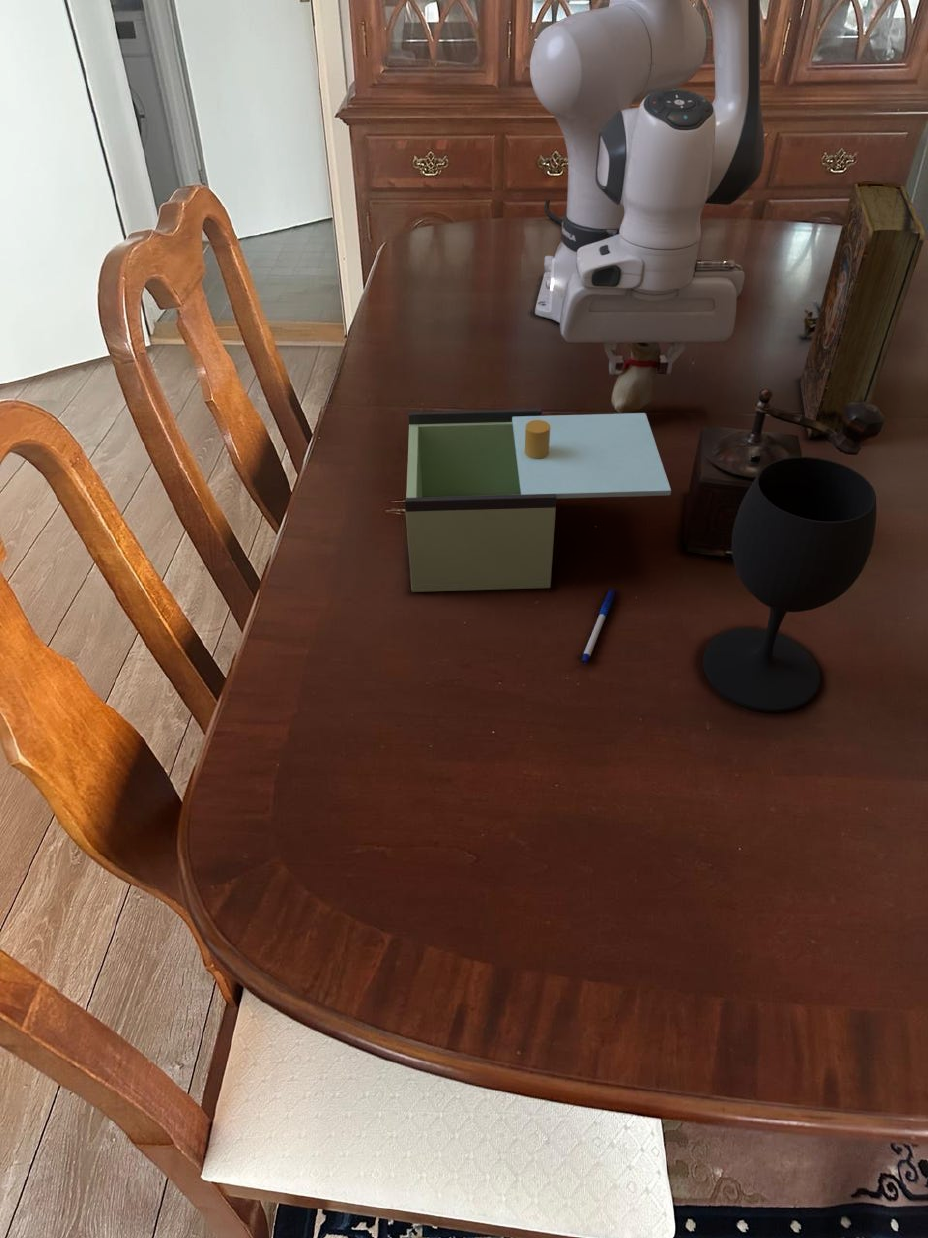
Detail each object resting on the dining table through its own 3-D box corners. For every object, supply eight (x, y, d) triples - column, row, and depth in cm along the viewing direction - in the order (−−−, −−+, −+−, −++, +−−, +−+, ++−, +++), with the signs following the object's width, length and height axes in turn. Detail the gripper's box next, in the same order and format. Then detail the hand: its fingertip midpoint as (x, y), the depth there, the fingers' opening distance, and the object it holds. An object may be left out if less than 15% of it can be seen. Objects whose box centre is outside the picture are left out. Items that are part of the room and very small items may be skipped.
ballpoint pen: (606, 591, 89) (607, 584, 88) (615, 593, 89) (616, 586, 88) (580, 663, 82) (581, 656, 81) (590, 666, 82) (591, 658, 81)
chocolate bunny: (672, 398, 112) (683, 321, 105) (622, 416, 109) (630, 339, 102) (643, 380, 115) (652, 305, 108) (594, 397, 112) (600, 321, 106)
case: (414, 498, 101) (408, 411, 94) (537, 495, 102) (541, 407, 94) (411, 592, 90) (404, 501, 82) (550, 588, 90) (556, 497, 82)
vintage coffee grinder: (682, 556, 93) (712, 402, 81) (685, 495, 101) (713, 346, 89) (837, 574, 91) (892, 418, 78) (828, 510, 99) (877, 359, 86)
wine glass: (753, 729, 76) (812, 546, 63) (678, 653, 83) (716, 472, 69) (845, 686, 80) (919, 504, 66) (765, 616, 86) (818, 437, 73)
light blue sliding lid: (512, 421, 94) (512, 390, 91) (645, 417, 94) (649, 386, 91) (521, 499, 84) (522, 467, 81) (670, 495, 84) (676, 463, 81)
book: (799, 377, 120) (852, 179, 103) (842, 380, 119) (902, 181, 102) (808, 442, 109) (869, 231, 91) (855, 446, 108) (926, 234, 91)
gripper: (742, 248, 102) (718, 358, 112) (563, 248, 102) (555, 359, 112) (755, 271, 98) (729, 384, 107) (568, 272, 97) (559, 385, 107)
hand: (638, 372), depth 109 cm, fingers closed on chocolate bunny, 4 cm apart
